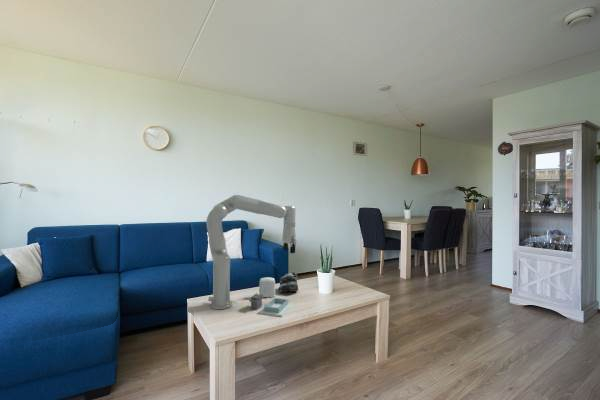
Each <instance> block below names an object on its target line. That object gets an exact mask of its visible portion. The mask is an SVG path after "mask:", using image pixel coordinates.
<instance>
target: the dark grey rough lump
mask: <svg viewBox="0 0 600 400" xmlns="http://www.w3.org/2000/svg"><path fill="white" fill-rule="evenodd" d="M277 290H278V293H279V294H280V293H285V292H299V285H298V275H297V274H296V273H295V272H292V273H285V274H284V275H283V276H281V277H280V278H279V286H278V288H277Z"/></svg>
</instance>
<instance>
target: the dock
mask: <svg viewBox="0 0 600 400" xmlns="http://www.w3.org/2000/svg"><path fill="white" fill-rule="evenodd" d="M293 306H294V302H293V303H292V302H289V299H287V298H279V297H273V299H272V300H270V301H269V302H268V303H267V304H265V305H264V306H263V308H262V307H261V308H260V309H259V310H258V314H259V315H260V314H261V315H266V316H273V317H281V318H283V316H285V314H287V312H288V311H289V310H290V309H291V308H293Z"/></svg>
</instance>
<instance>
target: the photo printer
mask: <svg viewBox="0 0 600 400" xmlns="http://www.w3.org/2000/svg"><path fill="white" fill-rule="evenodd" d="M259 279H260V280H259V284H258V291H259V292H258V293H259V294H262V295H263V297H262V298H276V280H275V278H273V277H270V276H269V277H261V278H259Z"/></svg>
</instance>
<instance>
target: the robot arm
mask: <svg viewBox="0 0 600 400" xmlns="http://www.w3.org/2000/svg"><path fill="white" fill-rule="evenodd" d="M236 210H239V211H243V212H248V213H251V214H257V215H264V216H270V217H273V218H278V219H282V218H283V228H282V242H283V243H282V244H283V249H282V250H283V251H285V252H286V251H290V252H289V253H290V254H295V253H296V245H297V239H296V207H295V205H284V206H283V205H279V204H274V203H271V202H267V201H264V200H261V199H257V198H256V199H255V198H252V197H249V196H244V195H239V194H234V195H231V196H229V198H227V199H224V200H223V201H221V202H219V203H216V204H215V205H214V207H212V209H211V210H210V211H209V213H208V215H207V217H206V231H207V235H208V236H207V237H208V244H209V249H210V253H211V254H210V255H211V257H212V264H213V266H212V272H213V273H212V295H213V296H208V299H207V301H208V302H211V303H210V308H211V309H213V310H224V309H228V308H231V307H232V306H233V301H232V300H231V299H230V298H231V297H230V295H231V293H230V292H231V291H230V289H231V287H230V285H231V284H230V283H231V277H230V275H231V272H230V271H231V258H230V256H229V254H228V249H227V246H226V245H227V244H226V242H227V240H226V238H225V235H224V230H223V223H222V222H223V220H224V219H225V218H226V217H227V216H228V214H230V213H233V212H234V211H236ZM289 245H290V248H289ZM289 249H290V250H289Z"/></svg>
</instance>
